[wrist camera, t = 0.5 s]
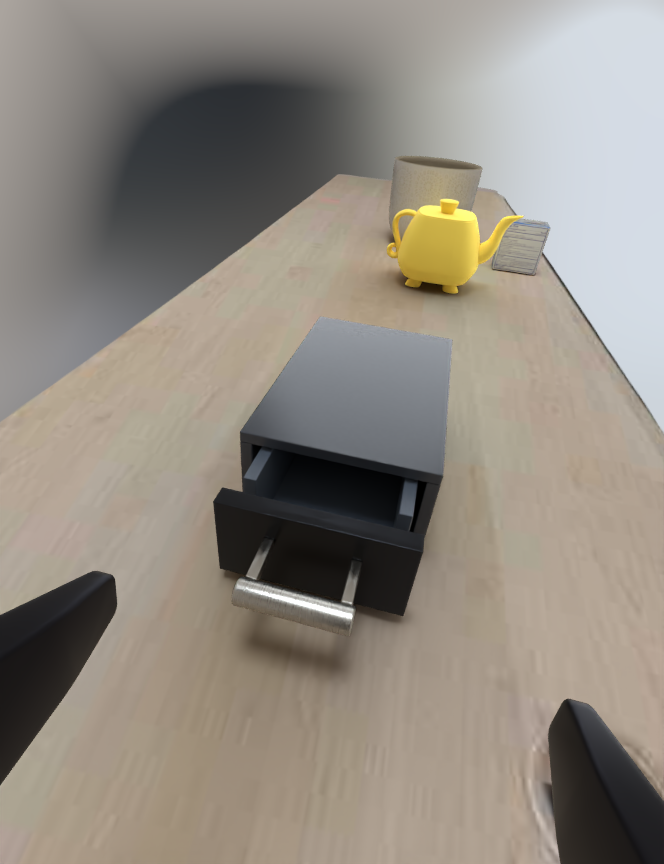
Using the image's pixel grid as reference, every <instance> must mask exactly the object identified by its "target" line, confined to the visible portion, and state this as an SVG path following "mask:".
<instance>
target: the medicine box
mask: <svg viewBox="0 0 664 864" xmlns="http://www.w3.org/2000/svg"><path fill="white" fill-rule="evenodd" d="M549 231H550V227H549V225H548V223H547V222H541V221H535V220H528V219H518V220H517V221H515V222H513V223H512V224H511V225H510V226H509V227H508V228H507V230H506V231H505V233H504V235H503V237H502V239H501V241H500V244H499V246H498V248H497V250H496V251H495V254H494V257H493V261H492V269H497V270H503V271H510V272H517V273H523V274H530V275H535V272H536V269H537V266H538V263H539V260H540V257H541V254H542V251H543V249H544V246H545V243H546V240H547V237H548V234H549Z"/></svg>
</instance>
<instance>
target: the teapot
mask: <svg viewBox="0 0 664 864" xmlns="http://www.w3.org/2000/svg"><path fill="white" fill-rule="evenodd" d="M458 204H459V202H458V201H456V200H452V199H441V200H440V205H441V206H431V205H428V206H423V207H421V208H420V209H419V210H418V211H417V212H416V211H414V210H412V209H405V210H402V211H400V212H398V213H397V214H396V215H395V217H394V219H393V224H392V228H393V235H394V239H395V243H390V244H389V245H388V247H387V254H388V255H389V256H390V257H392V258H398V263H399V266H400V269H401V271H402V273H403V275H404V276H406V277H408V278H409V279H408V280H407V281H406V283H405V285H407V286H410V287H419V286H420V285H421V283H422V281H423V282H429V283H435V284H442V290H443V291H444V292H447V293H458V290H457V286H459V285H462V284H464V283H466V282H467V281H468V280H469V279H470V278H471V276H472V275H473V274H474V273H475V271H476V269H477V267H478V265H479V264H481V263H484V262H486V261H487V260H489V259H490V258H491V257H492V256H493V255H494V253H495V251H496V250H497V248H498V246H499V244H500V241H501V239H502V237H503V235H504V233H505V231H506V230H507V228H508V227H509V226H510V225H511V224H512V223H513V222H515V221H517V220H518V219H520V218H523V216H507V217H505V218H503V219H502V220H501V221H500V222H499V223H498V225H497V226H496V228H495V230H494V232H493V234H492V236H491V237H490V238H489V239H488V240H487V241H486V242H484V243H481V244H480V237H479V229H478V223H477V218H476V216H475V214H474V213H472V212H470V211H467V210H462V209H456V208H457V206H458ZM405 215H409V216H413V219H412V220H411V222H410V224H409V225H408V227H407V229H406V231H405V233H404V236H403V238H402V241H401V240H400V235H399V229H398V222H399V219H400V217H402V216H405ZM392 247H396V252H393V251H392V250H391V249H392Z"/></svg>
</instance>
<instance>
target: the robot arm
mask: <svg viewBox="0 0 664 864" xmlns="http://www.w3.org/2000/svg"><path fill="white" fill-rule="evenodd" d="M116 608H117V596H116V585H115V578H114V577H113V575H111V574H107V573H103V572H100V571H92V572H90V573H87V574H85V575H83V576H81V577H79V578H77V579H75V580H73V581H71V582H69V583H67V584H64V585H62V586H60V587H58V588H56V589H54V590H52V591H50V592H48V593H46V594H43V595H41V596H39V597H37V598H35V599H33V600H31V601H29V602H27V603H25V604H23V605H20V606H18V607H16V608H14V609H12V610H10V611H8V612H6V613H4V614H2V615H0V785H1V784H2V782H3V781H4V779H5V778H6V777H7V775H8V774H9V773H10V771H11V770H12V768H13V767H14V766H15V764H16V763H17V762H18V760H19V759H20V757H21V756H22V755H23V753H24V752H25V750H26V749H27V748H28V746H29V745H30V744H31V742H32V741H33V739H34V738H35V737H36V735H37V734H38V733H39V731H40V730H41V728H42V727H43V726H44V724H45V723H46V721H47V720H48V719H49V717H50V716H51V715H52V713H53V712H54V710H55V709H56V708H57V706H58V705H59V703H60V702H61V701H62V699H63V698H64V697H65V695H66V694H67V692H68V691H69V689H70V688H71V686H72V685H73V683H74V682H75V680H76V678H77V677H78V675H79V674H80V672H81V670H82V668H83V667H84V665H85V663H86V662H87V660H88V658H89V657H90V655H91V653H92V652H93V650H94V648H95V646H96V645H97V643H98V641H99V640H100V638H101V636H102V635H103V633H104V631H105V630H106V628H107V626H108V624H109V623H110V621H111V619H112V618H113V616H114V614H115V611H116ZM548 742H549V755H550V768H551V781H552V793H553V806H554V819H555V829H556V838H557V844H558V851H559V857H560V863H561V864H664V801H663V799H662V798H661V797H660V796H659V794H658V793H657V792H656V790H655V789H654V788H653V786H652V785H651V784H650V782H649V781H648V780H647V778H646V777H645V776H644V774H643V773H642V772H641V770H640V769H639V768H638V766H637V765H636V764H635V763H634V761H633V760H632V759H631V757H630V756H629V755H628V753H627V752H626V751H625V749H624V748H623V747H622V745H621V744H620V743H619V741H618V740H617V739H616V737H615V736H614V735H613V733H612V732H611V731H610V730H609V728H608V727H607V726H606V724H605V723H604V722H603V720H602V719H601V718H600V716H599V715H598V714H597V712H596V711H595V710H594V709H593V708H592V707H591V706H590V705H589V704H586V703H583V702H579V701H576V700H572V699H566V700H564V701H563V703H562V704H561V706H560V708H559V710H558V712H557V713H556V715H555V717H554V719H553V721H552V723H551V725H550V728H549V733H548Z"/></svg>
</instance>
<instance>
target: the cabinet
mask: <svg viewBox="0 0 664 864" xmlns="http://www.w3.org/2000/svg"><path fill="white" fill-rule="evenodd" d="M451 353H452V339H447V338H441V337H435V336H430V335H424V334H418V333H412V332H407V331H401V330H395V329H389V328H384V327H378V326H372V325H366V324H361V323H355V322H349V321H343V320H338V319H332V318H326V317H319V319H318V320H317V322H316V323H315V325H314V326H313V327H312V329H311V330H310V332H309V333H308V335H307V336H306V337H305V339H304V340H303V342H302V343H301V345H300V346H299V348H298V349H297V350H296V352H295V353H294V355H293V356H292V358H291V359H290V361H289V362H288V363H287V365H286V366H285V368H284V369H283V371H282V372H281V374H280V375H279V376H278V378H277V379H276V381H275V382H274V384H273V385H272V387H271V388H270V389H269V391H268V392H267V394H266V395H265V397H264V398H263V400H262V401H261V402H260V404H259V405H258V407H257V408H256V410H255V411H254V413H253V414H252V415H251V417H250V418H249V420H248V421H247V423H246V424H245V426H244V427H243V428H242V430H241V431H240V441H241V442H240V444H241V466H242V487H243V492H244V480H243V477H244V476H245V474H246V472H247V471H248V469H249V467H250V466H251V464H252V462H253V461H254V459H255V457H256V456H257V454H258V452H259V451H260V449H261V447H262V446H264V447H268V448H273V449H277V450H282V451H286V452H291V453H296V454H300V455H305V456H309V457H314V458H318V459H323V460H328V461H332V462H337V463H341V464H346V465H350V466H355V467H360V468H364V469H369V470H373V471H378V472H382V473H387V474H392V475H396V476H401V477H405V478H410V479H414V480H418V484H417V492H416V499H415V507H414V514H413V519H412V523H411V527H410V530H409V531H410V532H414V533H418V534H423V535H424V536H425V535H426V532H427V528H428V525H429V522H430V518H431V515H432V512H433V508H434V505H435V502H436V498H437V495H438V492H439V488H440V484H441V481H442V478H443V471H444V456H445V441H446V427H447V412H448V397H449V383H450V368H451ZM424 538H425V537H424Z"/></svg>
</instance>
